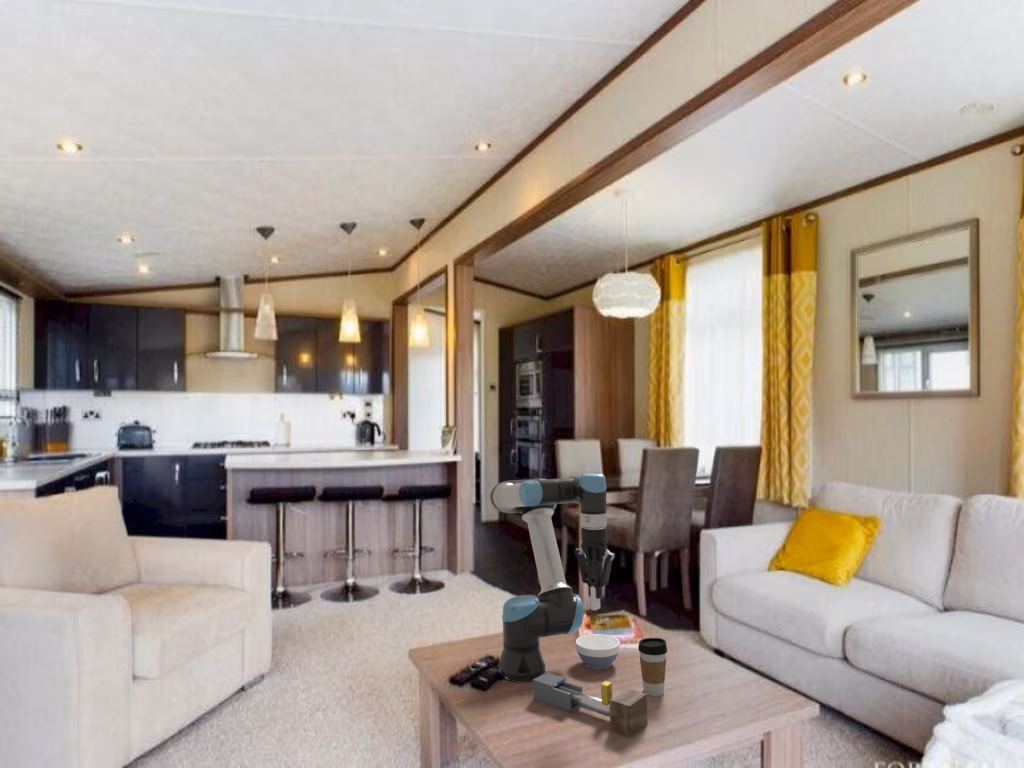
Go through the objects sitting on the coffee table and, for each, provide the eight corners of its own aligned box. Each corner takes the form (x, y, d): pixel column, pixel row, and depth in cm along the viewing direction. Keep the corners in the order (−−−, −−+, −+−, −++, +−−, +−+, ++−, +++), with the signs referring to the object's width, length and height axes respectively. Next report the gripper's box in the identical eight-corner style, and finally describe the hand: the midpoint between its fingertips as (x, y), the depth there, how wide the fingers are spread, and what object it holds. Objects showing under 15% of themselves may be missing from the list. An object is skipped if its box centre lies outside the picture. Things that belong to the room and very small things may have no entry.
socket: (610, 730, 173) (609, 699, 174) (627, 717, 180) (627, 687, 181) (630, 737, 170) (629, 706, 170) (647, 724, 176) (646, 693, 177)
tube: (555, 702, 188) (554, 671, 188) (563, 697, 191) (562, 666, 191) (622, 725, 174) (621, 691, 174) (630, 719, 177) (629, 686, 177)
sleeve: (533, 700, 192) (533, 679, 192) (547, 692, 197) (546, 672, 197) (569, 713, 183) (569, 691, 184) (582, 704, 188) (582, 683, 189)
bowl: (629, 664, 217) (628, 640, 217) (602, 677, 206) (602, 653, 206) (593, 652, 227) (593, 630, 227) (566, 665, 216) (566, 642, 217)
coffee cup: (668, 699, 191) (667, 647, 191) (639, 697, 192) (637, 645, 193) (667, 686, 199) (666, 636, 199) (639, 684, 201) (638, 635, 201)
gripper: (568, 526, 193) (569, 607, 193) (606, 531, 185) (608, 616, 184) (582, 522, 199) (584, 601, 198) (620, 527, 191) (621, 609, 190)
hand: (595, 608), depth 191 cm, fingers closed
